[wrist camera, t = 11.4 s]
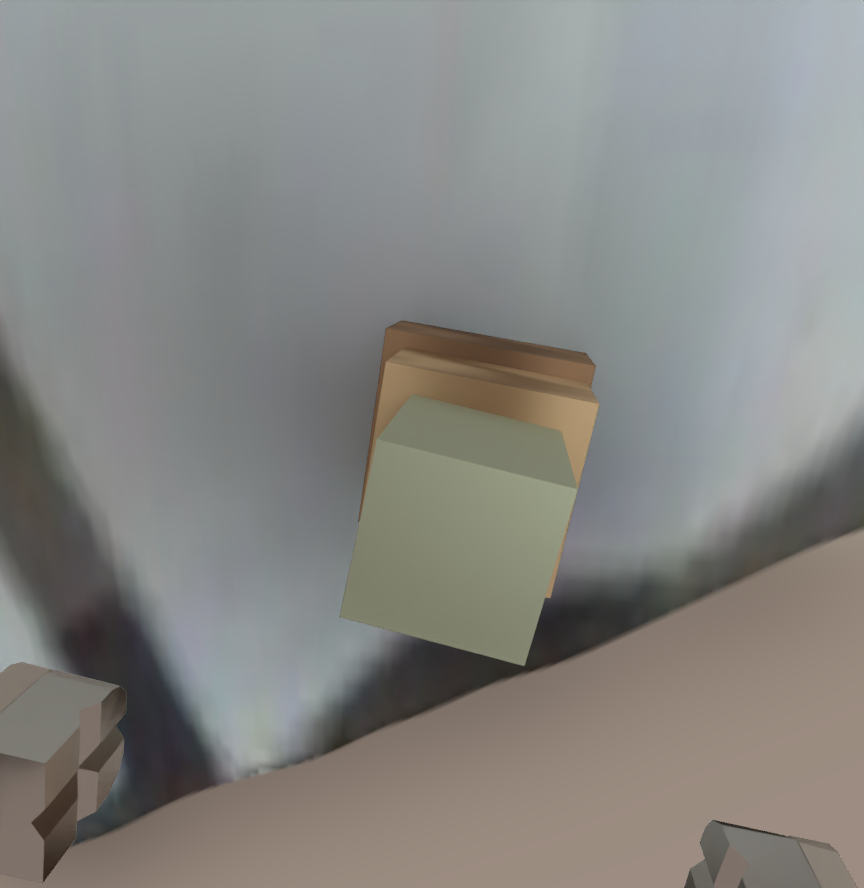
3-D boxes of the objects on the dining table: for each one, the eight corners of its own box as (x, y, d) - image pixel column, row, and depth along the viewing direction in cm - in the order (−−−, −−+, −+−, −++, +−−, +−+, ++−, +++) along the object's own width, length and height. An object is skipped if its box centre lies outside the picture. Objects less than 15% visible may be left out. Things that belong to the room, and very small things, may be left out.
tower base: (377, 490, 32) (358, 521, 28) (402, 320, 30) (385, 328, 26) (546, 523, 32) (550, 560, 28) (585, 352, 29) (595, 366, 25)
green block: (381, 531, 24) (339, 616, 18) (411, 394, 22) (377, 439, 17) (521, 567, 24) (524, 665, 18) (561, 430, 22) (577, 489, 16)
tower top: (376, 515, 28) (354, 555, 24) (405, 347, 26) (385, 361, 22) (545, 551, 28) (550, 598, 24) (586, 382, 26) (599, 404, 22)
